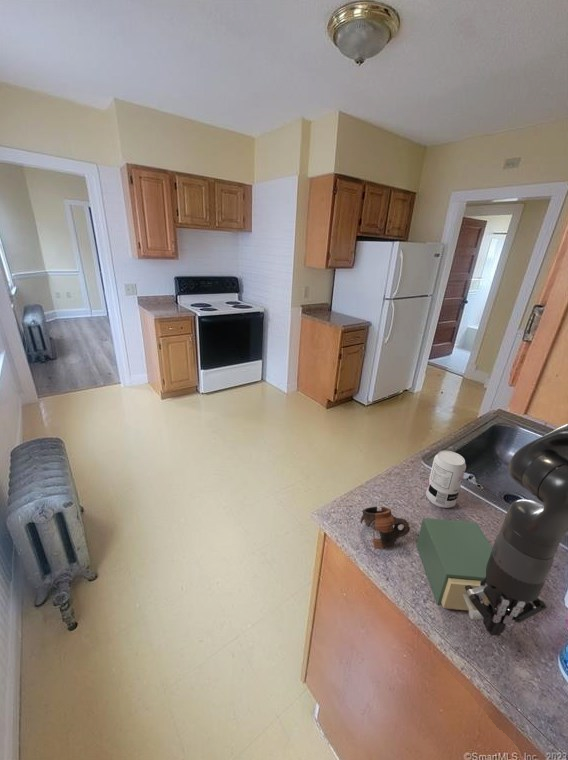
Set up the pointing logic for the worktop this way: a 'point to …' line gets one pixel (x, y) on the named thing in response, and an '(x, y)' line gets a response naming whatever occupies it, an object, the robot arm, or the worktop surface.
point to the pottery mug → (385, 526)
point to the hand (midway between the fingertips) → (491, 630)
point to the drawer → (461, 597)
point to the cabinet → (452, 552)
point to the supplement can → (445, 478)
